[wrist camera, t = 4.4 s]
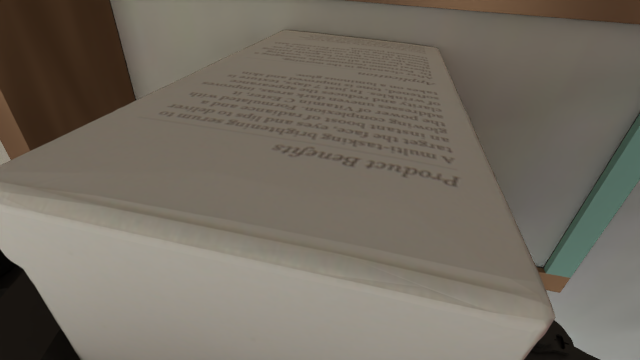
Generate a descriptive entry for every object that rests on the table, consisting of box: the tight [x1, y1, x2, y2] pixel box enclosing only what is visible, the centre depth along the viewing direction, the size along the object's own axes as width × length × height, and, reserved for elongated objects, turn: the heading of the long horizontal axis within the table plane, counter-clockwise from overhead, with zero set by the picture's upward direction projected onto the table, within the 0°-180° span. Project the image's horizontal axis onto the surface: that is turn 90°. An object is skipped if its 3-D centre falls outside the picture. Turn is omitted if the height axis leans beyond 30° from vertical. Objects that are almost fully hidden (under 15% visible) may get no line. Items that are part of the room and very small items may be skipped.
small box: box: [0, 30, 556, 360], centre depth 9 cm, size 8×6×10 cm
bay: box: [0, 0, 640, 293], centre depth 11 cm, size 21×12×5 cm, turn 86°
